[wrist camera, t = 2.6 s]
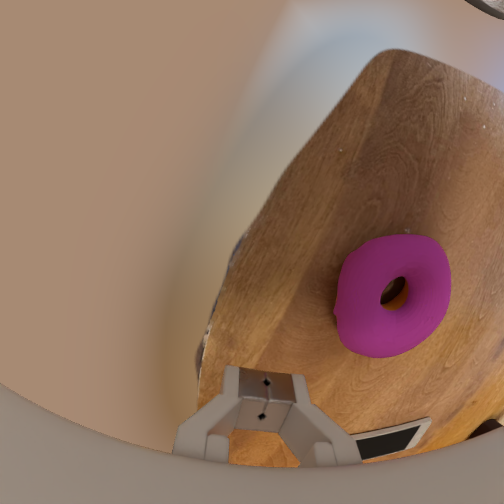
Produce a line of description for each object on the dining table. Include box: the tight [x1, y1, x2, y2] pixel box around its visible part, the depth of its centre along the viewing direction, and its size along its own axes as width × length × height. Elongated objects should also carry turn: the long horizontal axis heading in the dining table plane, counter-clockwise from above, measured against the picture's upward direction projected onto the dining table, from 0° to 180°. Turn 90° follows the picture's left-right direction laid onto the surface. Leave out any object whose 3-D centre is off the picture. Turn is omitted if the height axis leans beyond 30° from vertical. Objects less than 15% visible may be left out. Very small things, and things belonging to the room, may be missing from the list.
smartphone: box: [350, 417, 432, 461], centre depth 29 cm, size 7×16×1 cm, turn 90°
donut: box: [333, 234, 451, 358], centre depth 20 cm, size 10×10×5 cm
